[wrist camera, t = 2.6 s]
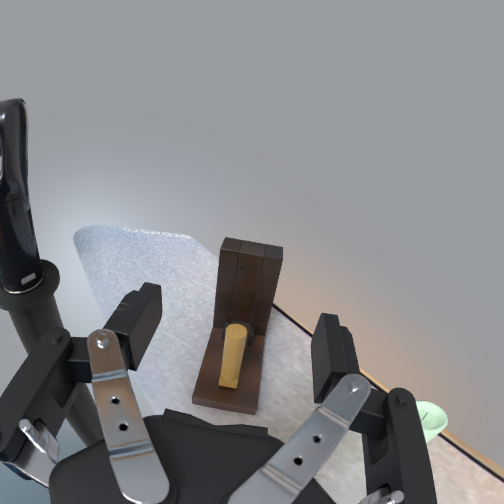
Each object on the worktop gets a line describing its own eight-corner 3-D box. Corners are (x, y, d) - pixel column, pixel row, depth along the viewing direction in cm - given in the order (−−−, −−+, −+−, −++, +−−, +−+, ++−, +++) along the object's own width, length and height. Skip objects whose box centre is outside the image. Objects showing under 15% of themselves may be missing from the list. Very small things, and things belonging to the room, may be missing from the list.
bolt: (236, 388, 30) (246, 339, 26) (218, 385, 30) (224, 336, 26) (243, 350, 35) (252, 300, 32) (227, 347, 36) (234, 296, 32)
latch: (254, 415, 29) (280, 332, 23) (192, 403, 29) (192, 316, 23) (264, 327, 42) (283, 245, 36) (216, 318, 43) (225, 235, 36)
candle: (367, 438, 27) (402, 400, 23) (398, 426, 28) (434, 387, 24) (383, 471, 23) (425, 439, 19) (415, 456, 24) (456, 421, 20)
